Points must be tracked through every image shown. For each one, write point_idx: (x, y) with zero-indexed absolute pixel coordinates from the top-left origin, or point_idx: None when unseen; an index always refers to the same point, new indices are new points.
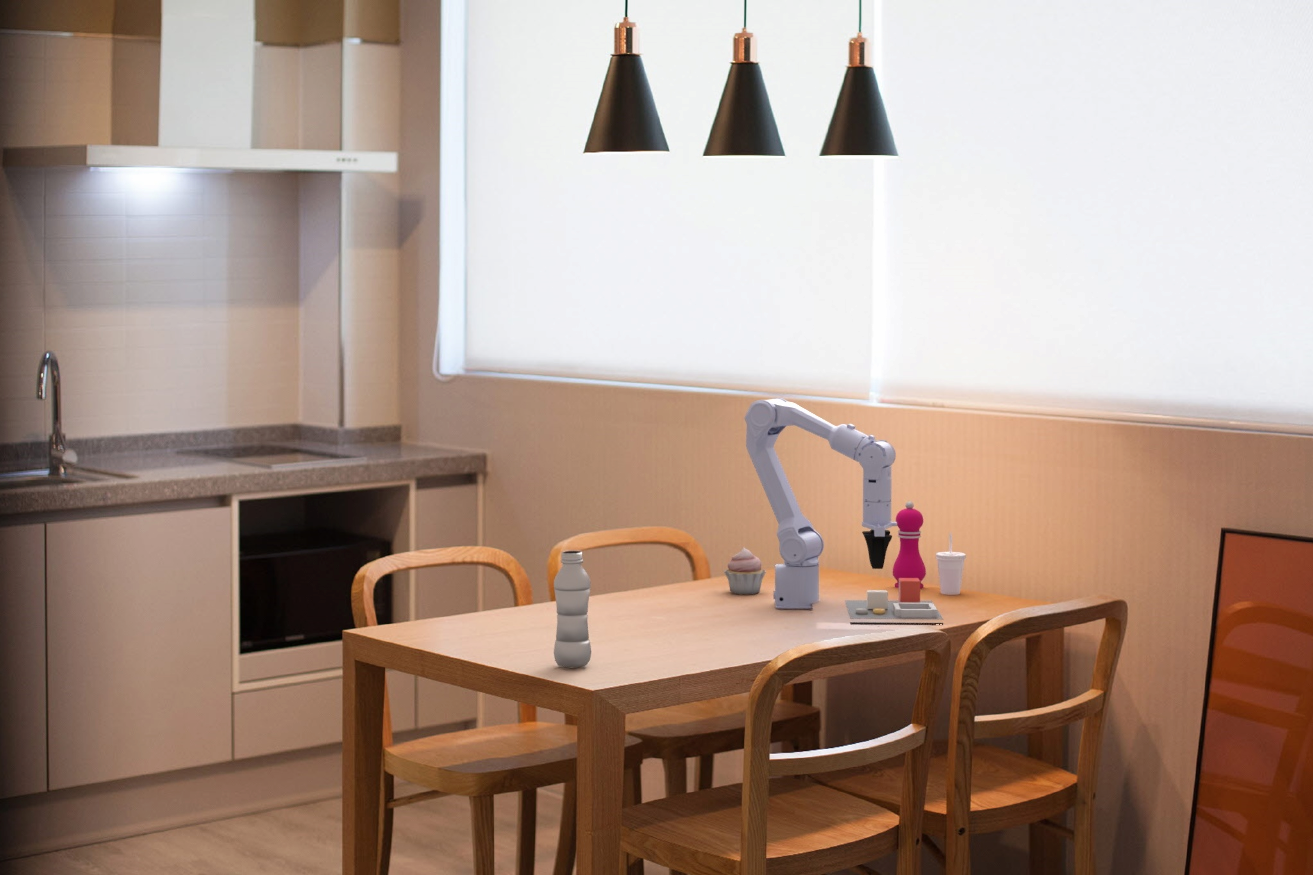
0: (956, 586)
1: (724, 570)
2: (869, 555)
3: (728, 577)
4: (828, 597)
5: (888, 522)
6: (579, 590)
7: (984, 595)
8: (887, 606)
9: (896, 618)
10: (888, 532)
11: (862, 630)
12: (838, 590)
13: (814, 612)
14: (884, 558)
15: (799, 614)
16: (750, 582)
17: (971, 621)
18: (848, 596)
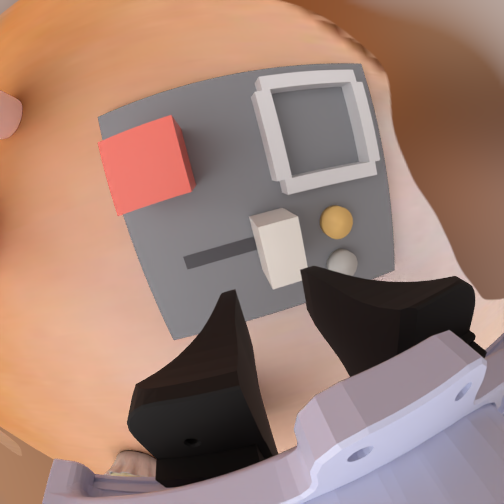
0: (3, 93)
1: None
2: (255, 365)
3: None
4: (98, 373)
5: (496, 412)
6: None
7: None
8: (284, 209)
9: (382, 170)
10: (244, 391)
11: (427, 231)
12: (32, 361)
13: (273, 364)
14: (342, 274)
15: (300, 377)
16: (155, 471)
17: (287, 10)
18: (66, 341)
